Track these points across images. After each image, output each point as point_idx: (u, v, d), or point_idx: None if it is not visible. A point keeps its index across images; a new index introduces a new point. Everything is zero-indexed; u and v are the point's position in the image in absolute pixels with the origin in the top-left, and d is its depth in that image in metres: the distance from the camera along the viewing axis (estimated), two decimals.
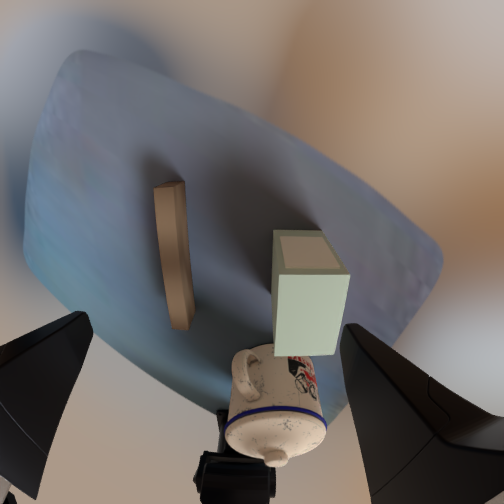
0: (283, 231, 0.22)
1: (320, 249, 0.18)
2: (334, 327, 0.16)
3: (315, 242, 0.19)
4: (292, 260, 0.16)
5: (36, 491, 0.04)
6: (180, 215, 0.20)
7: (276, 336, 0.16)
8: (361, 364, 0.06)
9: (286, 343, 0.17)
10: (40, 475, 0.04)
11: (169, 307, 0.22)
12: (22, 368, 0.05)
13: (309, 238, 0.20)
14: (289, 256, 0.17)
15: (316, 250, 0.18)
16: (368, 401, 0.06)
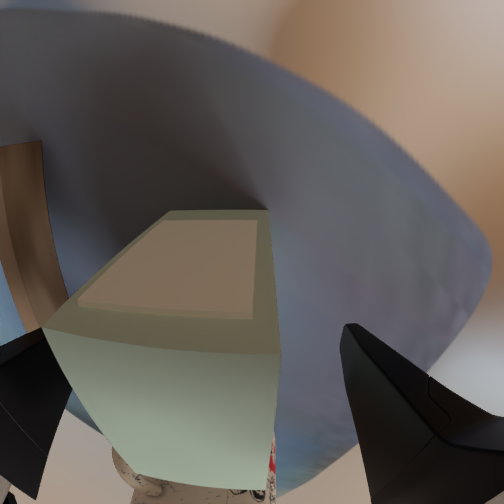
0: (185, 212, 0.11)
1: (227, 249, 0.07)
2: (252, 463, 0.05)
3: (230, 231, 0.08)
4: (113, 282, 0.05)
5: (36, 491, 0.04)
6: (22, 194, 0.09)
7: (118, 450, 0.05)
8: (361, 364, 0.06)
9: (145, 465, 0.05)
10: (40, 475, 0.04)
11: None
12: (22, 367, 0.05)
13: (224, 223, 0.09)
14: (122, 268, 0.06)
15: (213, 251, 0.06)
16: (368, 401, 0.06)
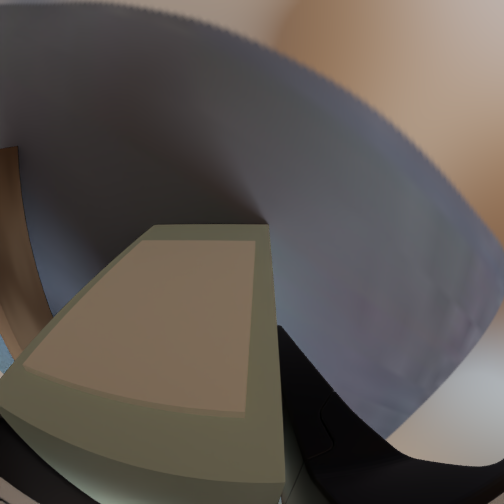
0: (171, 228, 0.09)
1: (215, 288, 0.05)
2: None
3: (220, 258, 0.06)
4: (66, 340, 0.03)
5: None
6: None
7: (100, 501, 0.04)
8: None
9: None
10: None
11: (14, 359, 0.09)
12: None
13: (214, 245, 0.07)
14: (80, 317, 0.04)
15: (196, 292, 0.05)
16: None
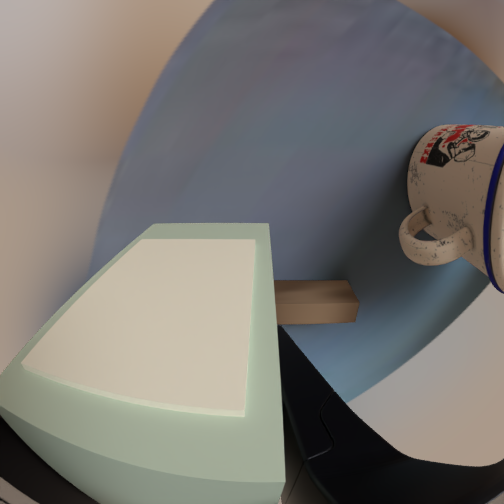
0: (171, 227, 0.09)
1: (214, 287, 0.05)
2: None
3: (220, 257, 0.06)
4: (63, 338, 0.03)
5: None
6: None
7: (99, 501, 0.04)
8: None
9: None
10: None
11: (321, 322, 0.17)
12: None
13: (214, 244, 0.07)
14: (79, 315, 0.04)
15: (196, 290, 0.05)
16: None
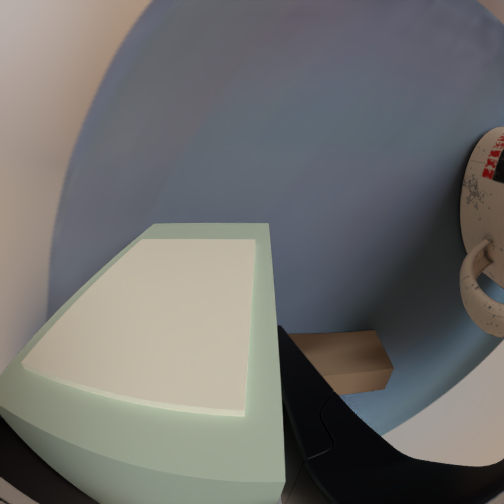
0: (171, 227, 0.09)
1: (215, 287, 0.05)
2: None
3: (220, 257, 0.06)
4: (64, 339, 0.03)
5: None
6: None
7: (99, 501, 0.04)
8: None
9: None
10: (98, 503, 0.04)
11: (342, 393, 0.11)
12: None
13: (214, 243, 0.07)
14: (79, 315, 0.04)
15: (196, 290, 0.05)
16: None
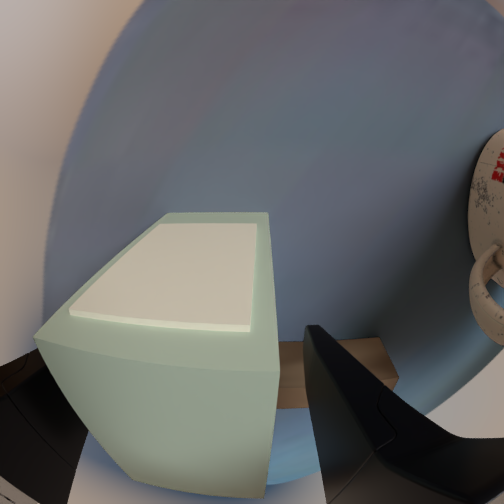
0: (183, 215, 0.10)
1: (225, 255, 0.06)
2: (250, 473, 0.05)
3: (228, 235, 0.08)
4: (105, 290, 0.05)
5: None
6: None
7: (114, 458, 0.05)
8: (316, 368, 0.06)
9: (141, 473, 0.05)
10: (68, 490, 0.04)
11: None
12: (49, 379, 0.05)
13: (222, 226, 0.08)
14: (116, 275, 0.05)
15: (210, 257, 0.06)
16: (322, 406, 0.06)
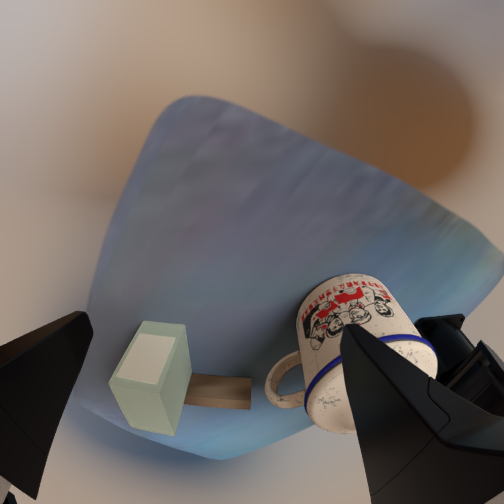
0: (149, 324, 0.23)
1: (158, 357, 0.19)
2: (164, 421, 0.17)
3: (161, 345, 0.20)
4: (125, 369, 0.17)
5: (36, 491, 0.04)
6: None
7: (125, 416, 0.17)
8: (361, 364, 0.06)
9: (134, 421, 0.18)
10: (40, 475, 0.04)
11: (226, 407, 0.23)
12: (22, 368, 0.05)
13: (161, 338, 0.21)
14: (127, 363, 0.18)
15: (153, 358, 0.19)
16: (368, 401, 0.06)
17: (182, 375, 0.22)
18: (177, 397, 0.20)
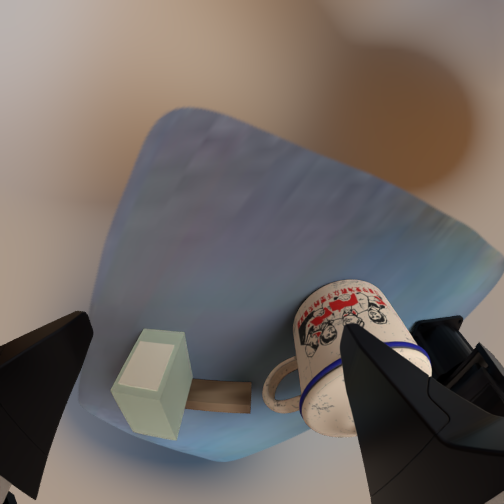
0: (150, 332, 0.23)
1: (158, 364, 0.19)
2: (166, 426, 0.17)
3: (161, 353, 0.20)
4: (126, 377, 0.18)
5: (36, 491, 0.04)
6: None
7: (128, 421, 0.18)
8: (361, 364, 0.06)
9: (136, 427, 0.18)
10: (40, 475, 0.04)
11: (226, 411, 0.23)
12: (22, 368, 0.05)
13: (161, 346, 0.21)
14: (128, 371, 0.18)
15: (154, 365, 0.19)
16: (368, 401, 0.06)
17: (183, 381, 0.22)
18: (178, 402, 0.20)
